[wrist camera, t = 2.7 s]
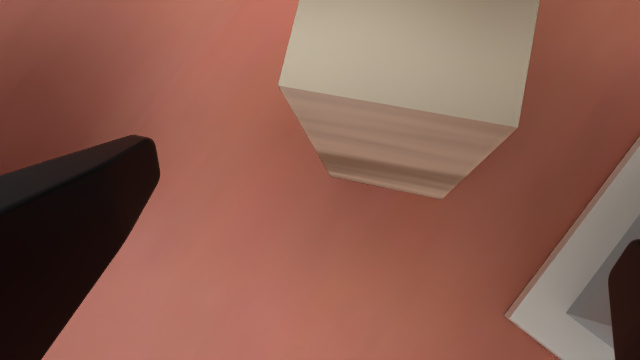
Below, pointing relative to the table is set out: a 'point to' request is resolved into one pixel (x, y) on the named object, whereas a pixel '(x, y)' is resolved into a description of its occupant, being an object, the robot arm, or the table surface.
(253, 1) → the table surface
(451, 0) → the birch block
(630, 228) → the box holder
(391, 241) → the table surface
